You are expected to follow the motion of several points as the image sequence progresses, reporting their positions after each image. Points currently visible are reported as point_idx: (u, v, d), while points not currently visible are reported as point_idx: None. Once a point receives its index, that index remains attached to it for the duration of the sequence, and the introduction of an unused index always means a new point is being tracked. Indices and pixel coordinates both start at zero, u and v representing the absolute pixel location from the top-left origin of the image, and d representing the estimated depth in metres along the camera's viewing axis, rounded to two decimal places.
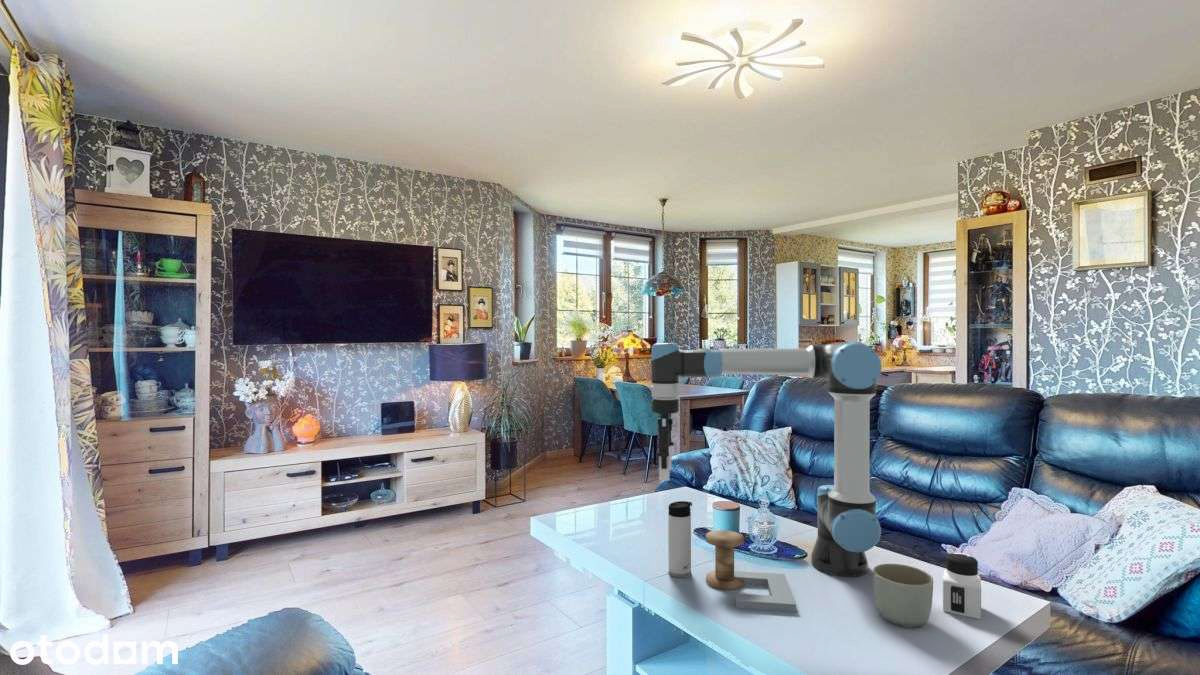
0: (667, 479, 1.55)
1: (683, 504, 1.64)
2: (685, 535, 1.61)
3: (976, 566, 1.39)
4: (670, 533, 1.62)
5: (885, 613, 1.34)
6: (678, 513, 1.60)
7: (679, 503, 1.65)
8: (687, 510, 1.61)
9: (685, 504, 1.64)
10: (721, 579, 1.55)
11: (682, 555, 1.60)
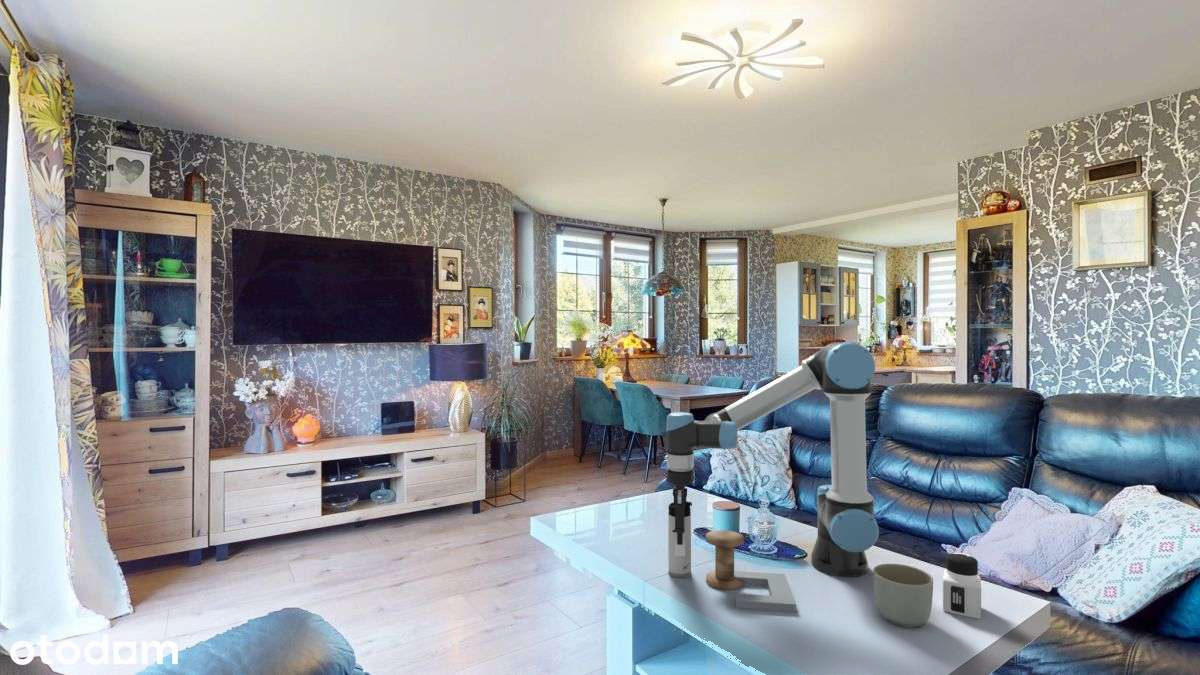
0: (683, 554, 1.59)
1: None
2: None
3: (976, 566, 1.39)
4: (670, 533, 1.62)
5: (885, 613, 1.34)
6: None
7: None
8: (687, 510, 1.61)
9: None
10: (721, 579, 1.55)
11: None
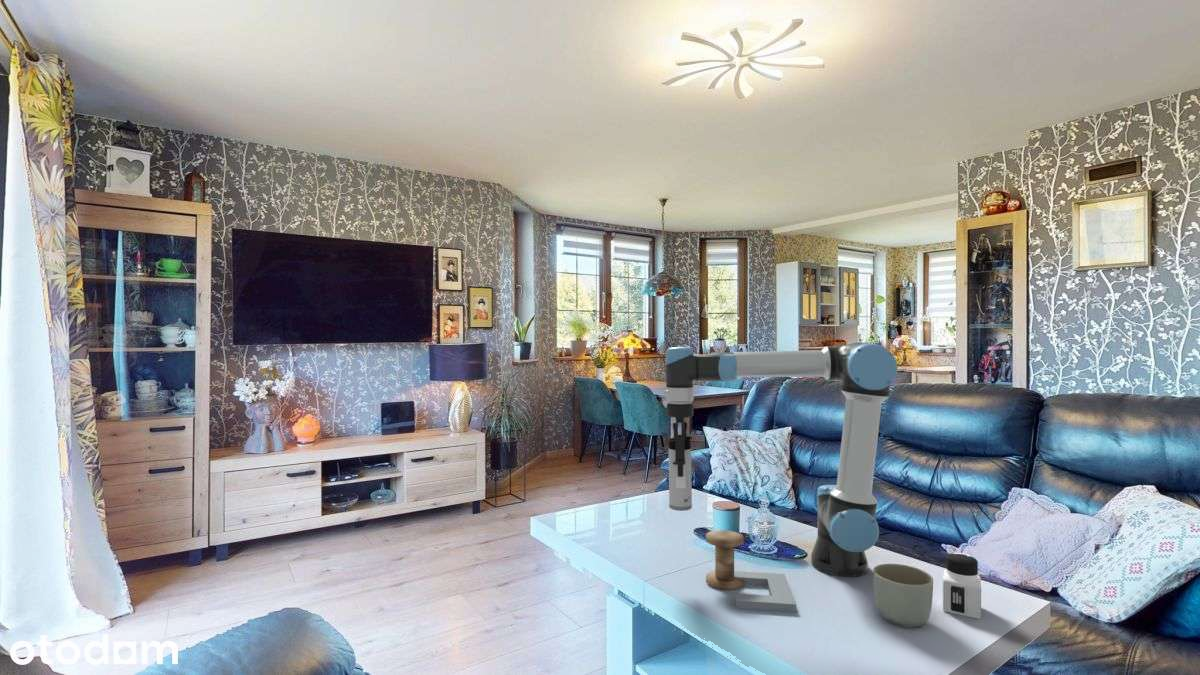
0: (683, 487, 1.59)
1: None
2: (685, 468, 1.60)
3: (976, 566, 1.39)
4: (670, 467, 1.62)
5: (885, 613, 1.34)
6: None
7: None
8: (687, 443, 1.61)
9: None
10: (721, 579, 1.55)
11: (683, 488, 1.60)
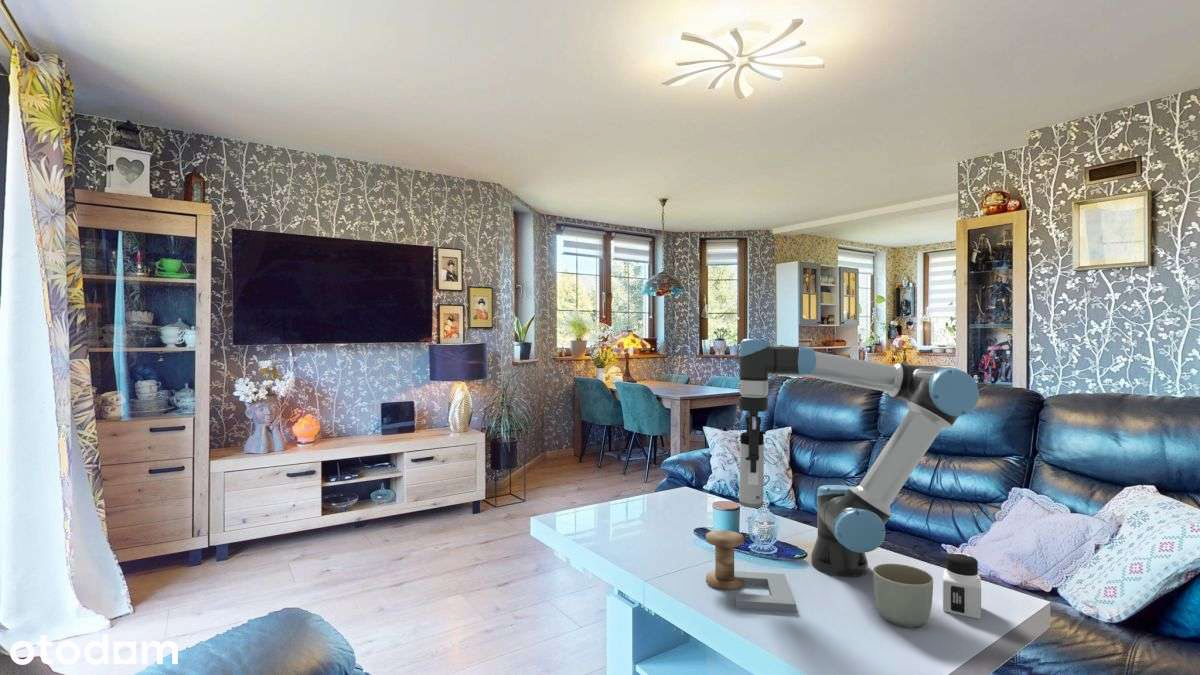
0: (756, 483, 1.54)
1: None
2: None
3: (976, 566, 1.39)
4: (742, 462, 1.56)
5: (885, 613, 1.34)
6: None
7: None
8: (761, 438, 1.55)
9: None
10: (721, 579, 1.55)
11: None
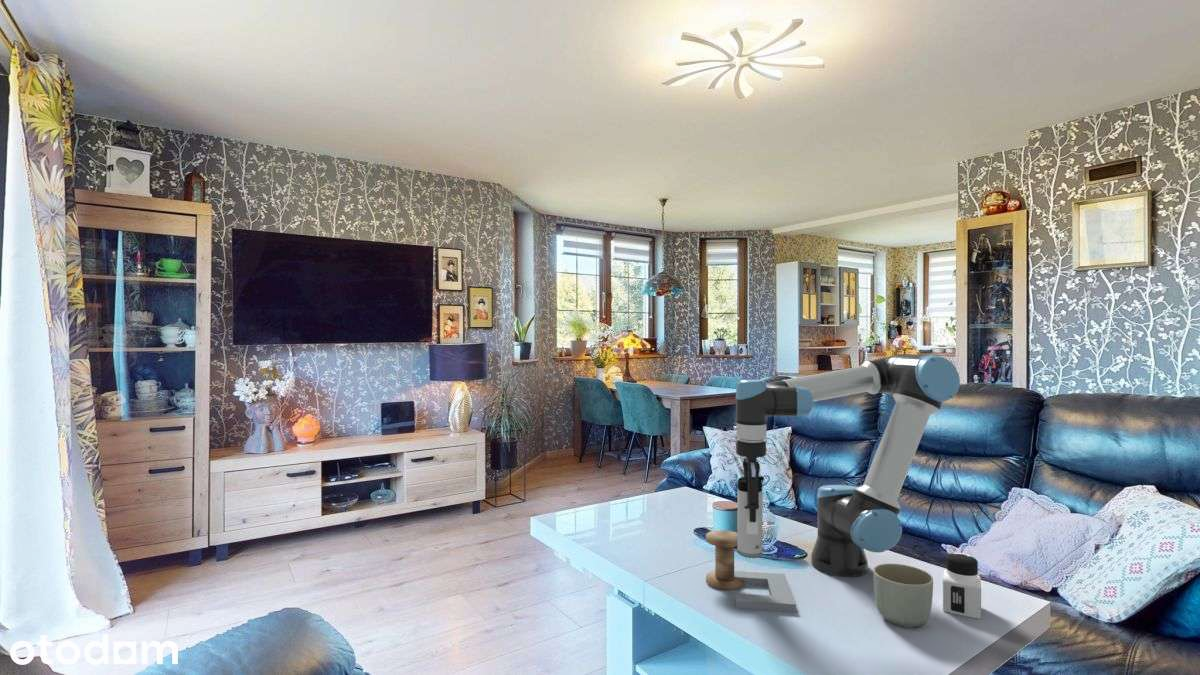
0: (755, 533, 1.47)
1: None
2: None
3: (976, 566, 1.39)
4: (740, 510, 1.49)
5: (885, 613, 1.34)
6: None
7: None
8: (759, 485, 1.48)
9: None
10: (721, 579, 1.55)
11: None
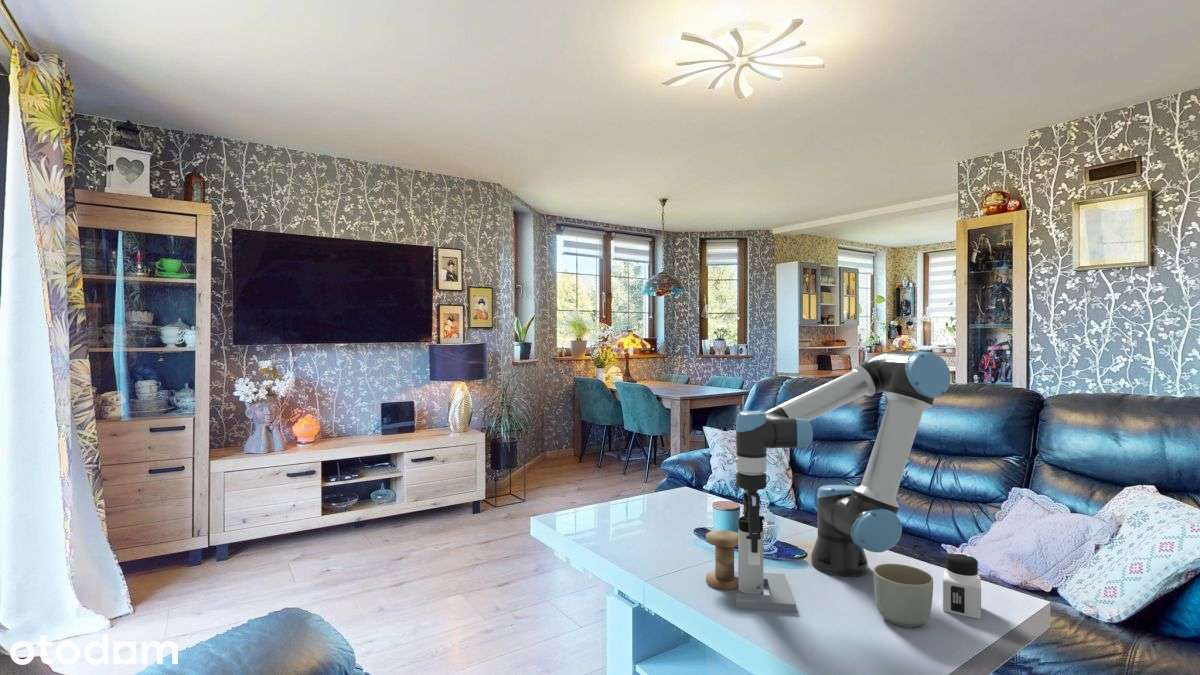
0: (757, 563, 1.43)
1: None
2: None
3: (976, 566, 1.39)
4: (741, 550, 1.49)
5: (885, 613, 1.34)
6: None
7: None
8: (760, 525, 1.48)
9: None
10: (721, 579, 1.55)
11: (755, 574, 1.47)
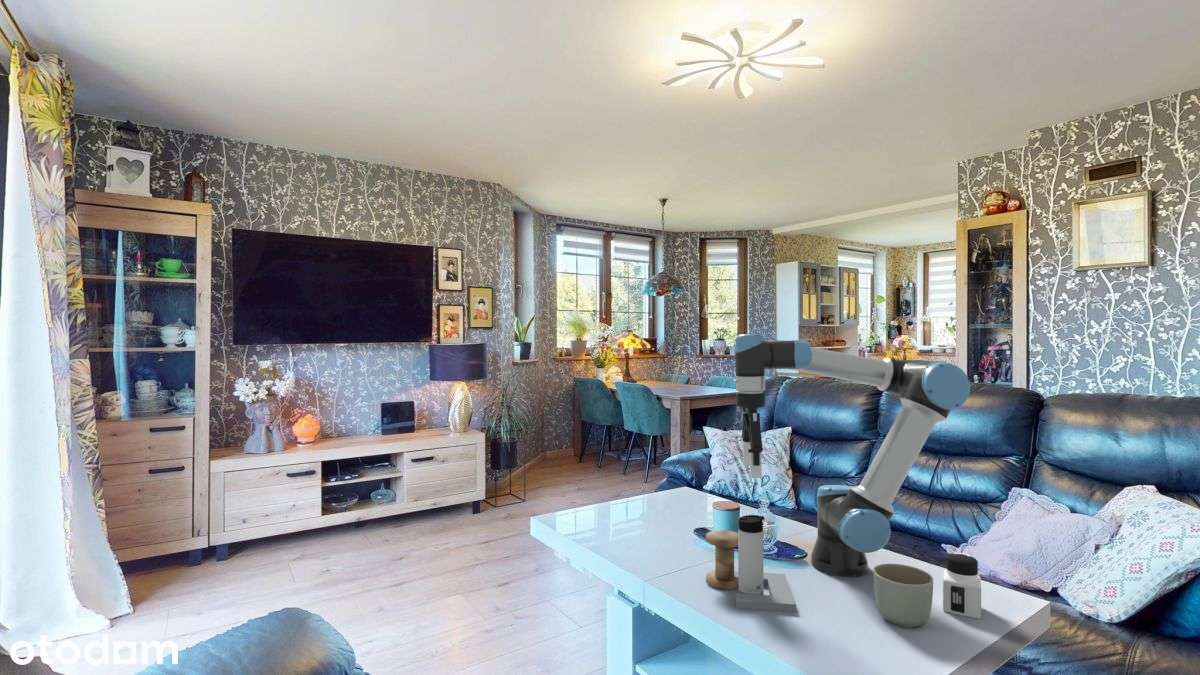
0: (759, 476, 1.48)
1: (754, 518, 1.51)
2: (758, 553, 1.48)
3: (976, 566, 1.39)
4: (741, 550, 1.49)
5: (885, 613, 1.34)
6: (750, 528, 1.48)
7: (749, 517, 1.52)
8: (760, 525, 1.48)
9: (756, 518, 1.51)
10: (721, 579, 1.55)
11: (755, 574, 1.47)
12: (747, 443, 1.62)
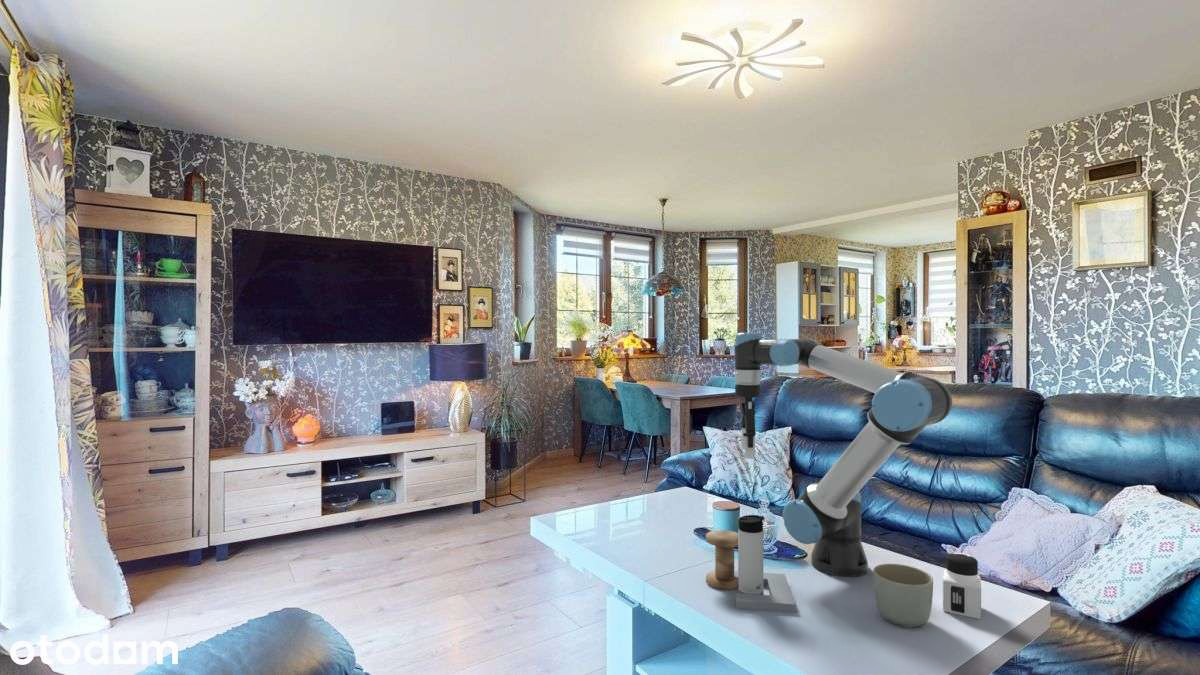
0: (753, 457, 1.70)
1: (754, 518, 1.51)
2: (758, 553, 1.48)
3: (976, 566, 1.39)
4: (741, 550, 1.49)
5: (885, 613, 1.34)
6: (750, 528, 1.48)
7: (749, 517, 1.52)
8: (760, 525, 1.48)
9: (756, 518, 1.51)
10: (721, 579, 1.55)
11: (755, 574, 1.47)
12: (745, 429, 1.83)
